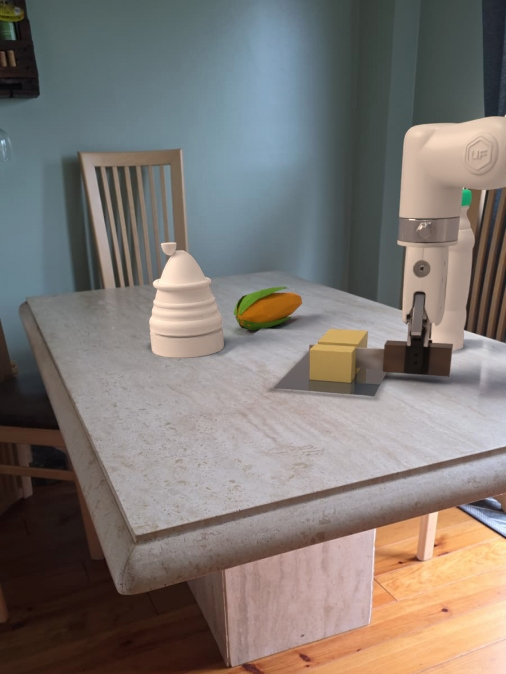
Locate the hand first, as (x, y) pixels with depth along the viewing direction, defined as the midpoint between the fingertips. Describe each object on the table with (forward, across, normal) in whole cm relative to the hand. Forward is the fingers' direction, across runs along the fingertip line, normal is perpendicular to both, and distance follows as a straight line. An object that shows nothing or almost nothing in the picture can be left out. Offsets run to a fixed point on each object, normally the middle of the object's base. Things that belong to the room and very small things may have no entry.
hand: (417, 369), depth 87 cm
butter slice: (+2, -2, +12) cm, 12 cm away
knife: (0, 0, +6) cm, 6 cm away
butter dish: (+3, +2, +12) cm, 12 cm away
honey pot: (+3, +12, +41) cm, 43 cm away
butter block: (+2, +5, +12) cm, 13 cm away
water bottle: (+3, +20, -2) cm, 20 cm away
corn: (+3, +32, +32) cm, 45 cm away
